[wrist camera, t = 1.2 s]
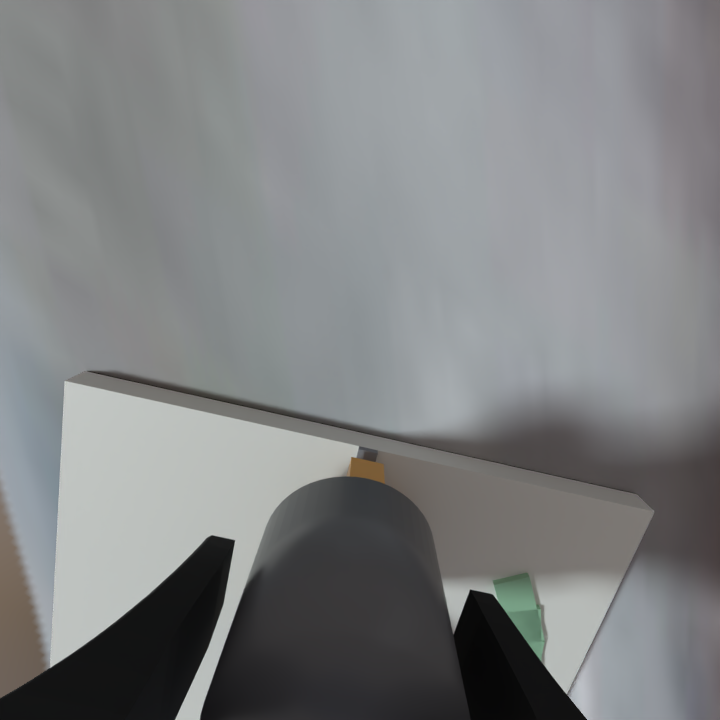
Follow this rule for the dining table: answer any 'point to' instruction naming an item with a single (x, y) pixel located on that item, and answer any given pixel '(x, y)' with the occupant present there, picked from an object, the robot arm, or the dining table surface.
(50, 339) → the dining table surface
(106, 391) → the dial plate
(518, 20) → the dining table surface
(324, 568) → the dial knob
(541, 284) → the dining table surface
